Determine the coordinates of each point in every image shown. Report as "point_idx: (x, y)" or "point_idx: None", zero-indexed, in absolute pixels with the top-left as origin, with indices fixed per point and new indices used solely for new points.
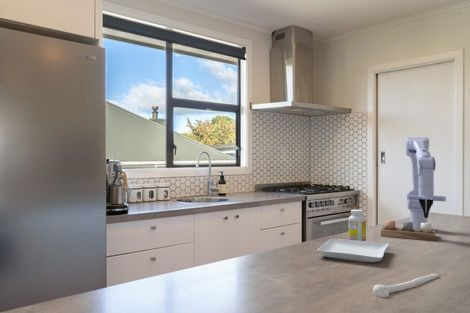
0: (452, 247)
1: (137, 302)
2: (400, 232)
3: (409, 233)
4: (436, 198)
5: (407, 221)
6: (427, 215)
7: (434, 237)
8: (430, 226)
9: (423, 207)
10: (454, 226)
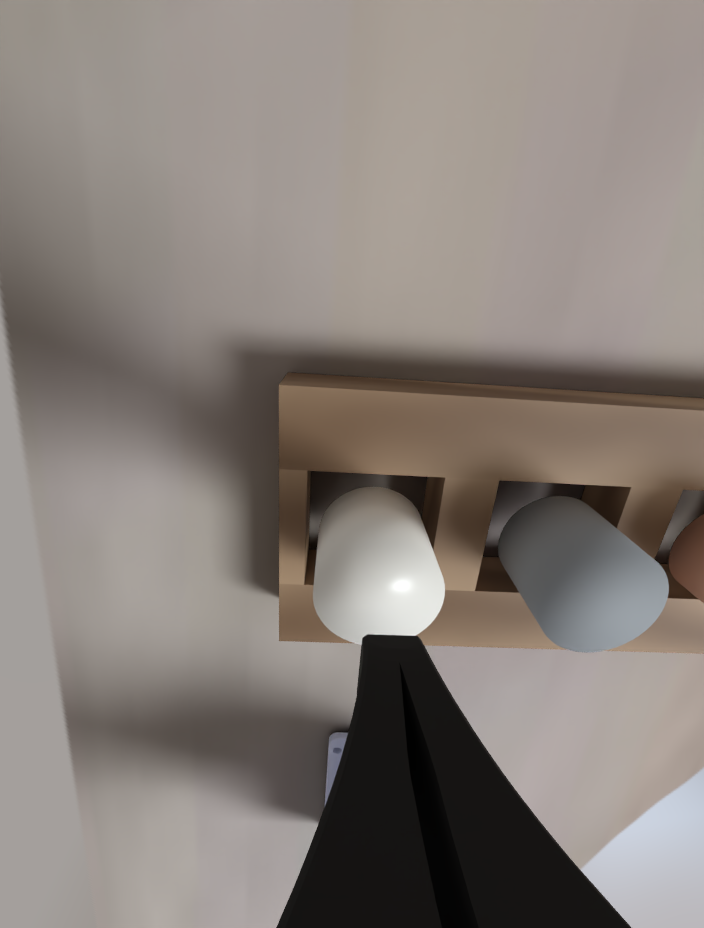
0: (108, 44)
1: None
2: (661, 406)
3: (562, 400)
4: None
5: (592, 651)
6: (374, 664)
7: (296, 380)
8: (326, 544)
9: (518, 853)
10: (158, 912)
